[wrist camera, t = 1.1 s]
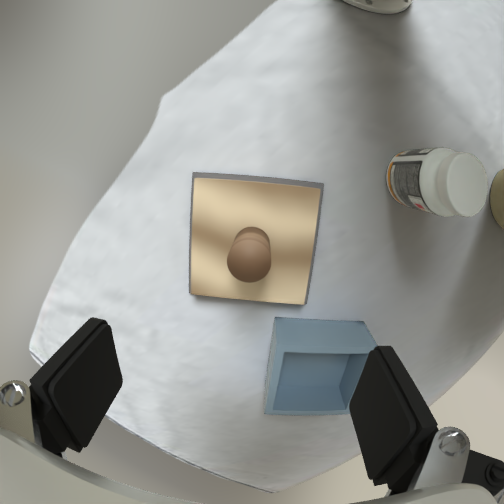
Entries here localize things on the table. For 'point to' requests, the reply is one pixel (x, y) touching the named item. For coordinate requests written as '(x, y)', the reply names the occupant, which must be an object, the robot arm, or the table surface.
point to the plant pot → (498, 198)
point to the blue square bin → (315, 366)
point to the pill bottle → (438, 181)
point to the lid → (252, 240)
